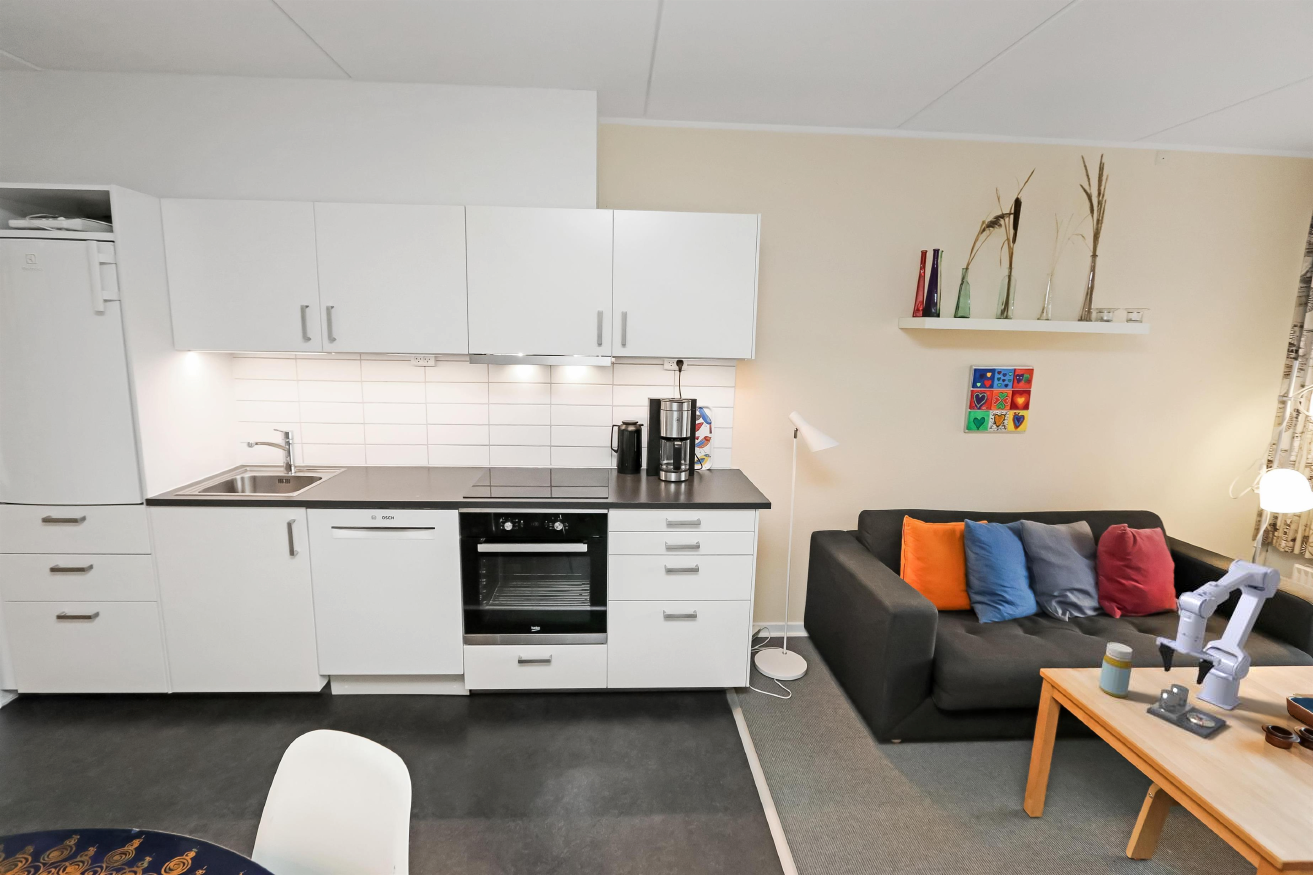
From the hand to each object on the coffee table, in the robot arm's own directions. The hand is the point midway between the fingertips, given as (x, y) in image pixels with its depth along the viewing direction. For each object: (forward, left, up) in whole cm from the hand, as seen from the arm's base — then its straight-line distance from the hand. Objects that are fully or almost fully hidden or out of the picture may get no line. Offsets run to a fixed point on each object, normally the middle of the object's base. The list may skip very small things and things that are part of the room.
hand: (1183, 676), depth 178 cm
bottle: (+7, -14, -11) cm, 19 cm away
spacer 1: (+7, 0, -8) cm, 11 cm away
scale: (+4, +3, -10) cm, 11 cm away
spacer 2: (+1, 0, -8) cm, 8 cm away
